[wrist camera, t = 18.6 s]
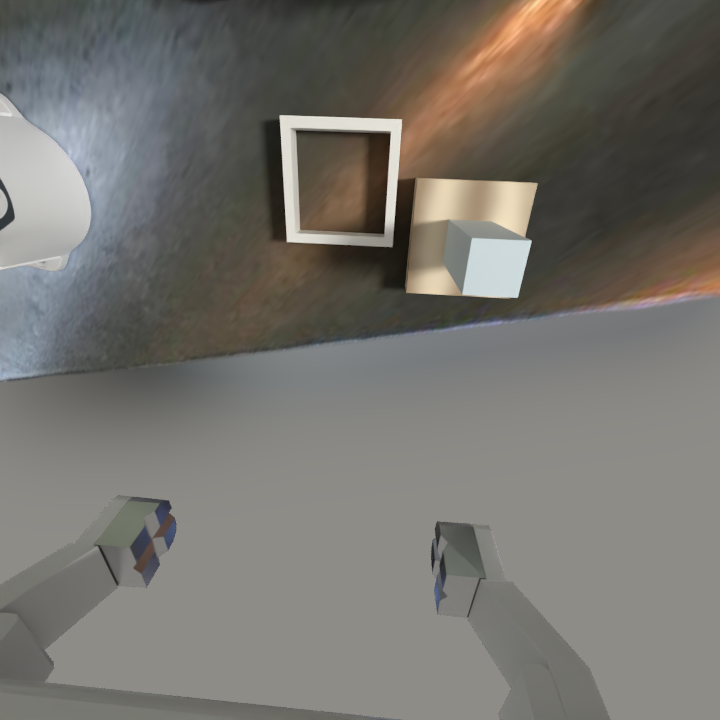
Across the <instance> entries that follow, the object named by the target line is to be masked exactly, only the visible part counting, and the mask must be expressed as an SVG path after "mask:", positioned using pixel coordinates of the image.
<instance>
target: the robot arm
mask: <svg viewBox="0 0 720 720" xmlns="http://www.w3.org/2000/svg"><path fill="white" fill-rule="evenodd" d="M90 221H91V206H90V200H89V196H88V192H87V189H86V186H85V184H84V181H83V179H82V177H81V175H80V173H79V171H78V170H77V168H76V166H75V165H74V163H73V162H72V160H71V159H70V158H69V156H68V155H67V154H66V153H65V152H64V150H63V149H62V148H61V147H60V146H59V145H58V144H57V143H56V142H55V141H54V140H53V139H51V138H50V137H49V136H48V135H46V134H45V133H44V132H42V131H41V130H39V129H38V128H36V127H35V126H33V125H32V124H31V123H29V122H28V121H27V120H26V119H24V117H23V116H22V115H21V114H20V112H19V111H18V110H17V109H16V108H15V107H14V105H13V104H12V103H11V102H10V101H9V100H8V99H7V98H6V97H5V96H4V95H2V94H1V93H0V270H2V269H8V268H13V267H18V266H23V265H27V266H31V267H35V268H39V269H43V270H48V271H53V272H55V271H61V270H63V269H64V268H65V267H66V264H67V262H68V258H69V254H70V253H71V251H72V250H73V249H74V248H76V247H77V246H78V245H79V244H80V243H81V242H82V241H83V240H84V238H85V236H86V234H87V232H88V230H89V226H90ZM171 508H172V507H171V505H170V502H169V500H159V499H150V498H140V497H131V496H120V495H119V496H116V497H115V498H113V499H112V500H111V501H110V502H109V503H108V505H107V506H106V507H105V508H104V509H103V511H102V512H101V513H100V514H99V515H98V516H97V518H96V519H95V520H94V521H93V522H92V524H91V525H90V526H89V527H88V528H87V529H86V531H85V532H84V533H83V534H82V536H81V537H80V538H79V539H78V540H77V541H76V543H75V544H73V543H70V544H68V545H66V546H64V547H63V548H61V549H59V550H58V551H56V552H54V553H53V554H51V555H49V556H47V557H46V558H44V559H42V560H41V561H39V562H37V563H36V564H34V565H33V566H31V567H29V568H27V569H26V570H24V571H22V572H20V573H19V574H17V575H15V576H14V577H12V578H10V579H9V580H7V581H5V582H4V583H2V584H0V720H400V719H390V718H381V717H371V716H362V715H352V714H343V713H333V712H324V711H314V710H305V709H294V708H286V707H276V706H267V705H257V704H248V703H238V702H228V701H219V700H210V699H200V698H191V697H181V696H172V695H162V694H152V693H143V692H133V691H123V690H114V689H105V688H94V687H85V686H75V685H66V684H57V683H47V682H45V681H46V679H47V678H48V676H49V675H50V673H51V672H52V670H53V669H54V663H53V661H52V660H51V658H50V657H49V655H48V654H47V653H46V651H45V649H46V648H47V647H49V646H50V645H51V644H52V643H53V642H54V641H56V640H57V639H58V638H59V637H60V636H61V635H63V634H64V633H65V632H66V631H67V630H68V629H70V628H71V627H72V626H73V625H74V624H76V623H77V622H78V621H79V620H80V619H81V618H83V617H84V616H85V615H86V614H87V613H88V612H90V611H91V610H92V609H93V608H94V607H95V606H97V605H98V604H99V603H100V602H101V601H103V600H104V599H105V598H106V597H107V596H109V595H110V594H111V593H112V592H113V591H114V590H115V589H117V586H127V587H144V588H147V586H148V585H149V583H150V581H151V579H152V578H153V576H154V574H155V572H156V571H157V569H158V567H159V565H160V563H159V557H160V556H161V555H163V554H164V553H165V552H167V551H168V550H169V548H170V546H171V544H172V543H173V540H174V537H175V534H176V521H175V518H174V517H173V516H172V515H171V514H169V512H170V510H171ZM435 536H436V537H435V538H434V539H433V541H432V547H431V564H432V574H433V575H434V576H435V578H436V583H435V589H434V592H435V601H436V609H437V614H439V615H447V616H455V617H463V618H468V621H469V623H470V624H471V626H472V628H473V629H474V631H475V632H476V634H477V635H478V637H479V639H480V640H481V642H482V643H483V645H484V646H485V648H486V650H487V651H488V653H489V654H490V656H491V657H492V659H493V661H494V662H495V664H496V665H497V667H498V668H499V670H500V672H501V673H502V675H503V676H504V678H505V679H506V681H507V683H508V684H509V686H510V687H511V690H510V692H509V694H508V696H507V698H506V700H505V702H504V704H503V705H502V707H501V709H500V711H499V713H498V714H499V719H500V720H610V717H609V715H608V712H607V710H606V708H605V705H604V703H603V700H602V697H601V695H600V693H599V690H598V688H597V685H596V683H595V680H594V678H593V675H592V673H591V670H590V668H589V667H588V666H587V665H586V663H585V662H584V661H583V660H582V659H581V658H580V657H579V656H578V655H577V653H576V652H575V651H574V650H573V649H572V648H571V647H570V646H569V645H568V643H567V642H566V641H565V640H564V639H563V638H562V637H561V636H560V635H559V633H557V631H556V630H555V629H554V628H553V627H552V626H551V625H550V623H549V622H548V621H547V620H546V619H545V618H544V617H543V616H542V615H541V613H540V612H539V611H538V610H537V609H536V608H535V607H534V606H533V605H532V604H531V602H530V601H529V600H528V599H527V598H526V597H525V596H524V595H523V593H522V592H521V591H520V590H519V589H518V588H517V587H516V586H515V585H514V583H513V582H509V581H506V577H505V574H504V570H503V567H502V564H501V560H500V557H499V554H498V550H497V547H496V543H495V540H494V537H493V533H492V530H491V528H490V527H489V526H488V525H475V524H469V523H453V522H438V521H437V523H436V526H435Z"/></svg>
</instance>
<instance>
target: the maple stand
mask: <svg viewBox="0 0 720 720" xmlns="http://www.w3.org/2000/svg"><path fill="white" fill-rule="evenodd" d="M537 184H538V183H529V182H507V181H483V180H458V179H434V178H415V189H414V199H413V209H412V220H411V230H410V241H409V251H408V261H407V272H406V282H405V288H406V293H421V294H439V295H457V296H475V295H462V294H461V292H460V290H459V289H458V287H457V285H456V284H455V282H454V280H453V279H452V277H451V275H450V274H449V272H448V270H447V269H446V267H445V265H444V264H443V256H444V249H445V242H446V235H447V227H448V220H449V219H451V220H474V221H492V222H494V223H496V224H498V225H500V226H502V227H504V228H506V229H508V230H511V231H513V232H515V233H517V234H519V235H521V236H523V237H525V234H526V230H527V225H528V221H529V217H530V213H531V209H532V205H533V200H534V196H535V192H536V188H537ZM476 297H494V296H476ZM494 298H510V297H494Z"/></svg>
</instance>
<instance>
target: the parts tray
mask: <svg viewBox="0 0 720 720" xmlns="http://www.w3.org/2000/svg"><path fill="white" fill-rule="evenodd" d="M401 128H402V119H374V118H344V117H315V116H286V115H280V130H281V147H282V164H283V182H284V199H285V217H286V234H287V242H298V243H318V244H338V245H358V246H379V247H393V234H394V221H395V207H396V194H397V181H398V168H399V154H400V141H401ZM296 130H304V131H332V132H360V133H388V134H391V138H390V154H389V170H388V185H387V201H386V216H385V232H384V234H374V233H353V232H333V231H312V230H300V218H299V193H298V168H297V143H296Z"/></svg>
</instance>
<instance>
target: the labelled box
mask: <svg viewBox="0 0 720 720" xmlns="http://www.w3.org/2000/svg"><path fill="white" fill-rule="evenodd" d="M530 245H531V240H529V239H527V238H525V237H523V236H521V235H519V234H517V233H515V232H513V231H511V230H508V229H506V228H504V227H502V226H500V225H498V224H496V223H494V222H492V221H474V220H451V219H449V220H448V227H447V235H446V242H445V249H444V256H443V264H444V265H445V267H446V269H447V270H448V272H449V274H450V275H451V277H452V279H453V280H454V282H455V284H456V285H457V287H458V289H459V290H460V292H461V294H462V295H475V296H494V297H514V298H518V294H519V290H520V286H521V282H522V278H523V274H524V270H525V266H526V262H527V258H528V254H529V250H530Z"/></svg>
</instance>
